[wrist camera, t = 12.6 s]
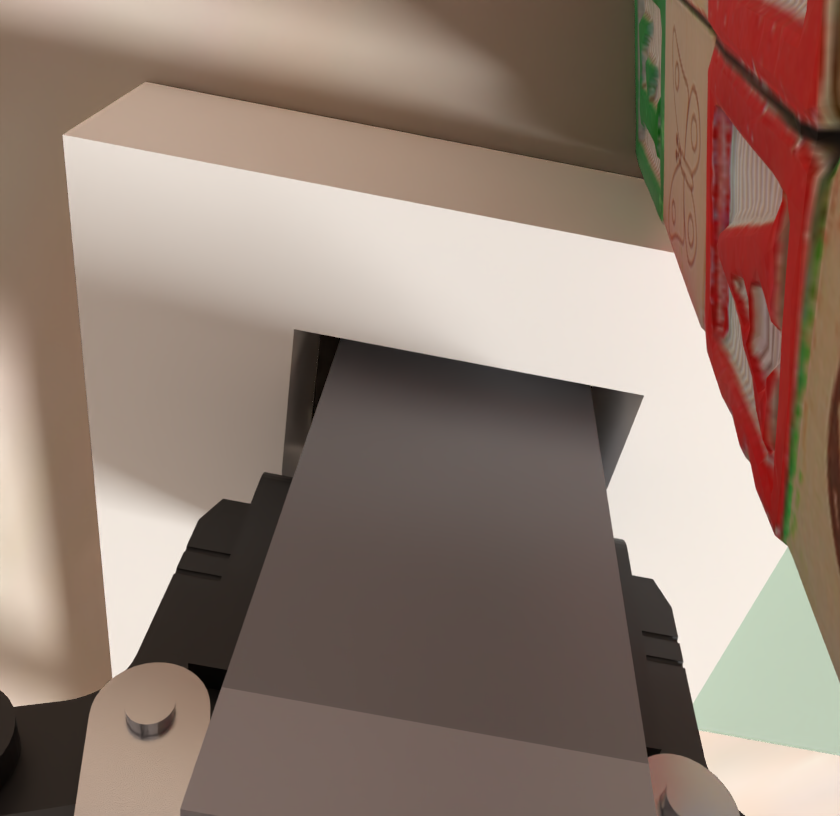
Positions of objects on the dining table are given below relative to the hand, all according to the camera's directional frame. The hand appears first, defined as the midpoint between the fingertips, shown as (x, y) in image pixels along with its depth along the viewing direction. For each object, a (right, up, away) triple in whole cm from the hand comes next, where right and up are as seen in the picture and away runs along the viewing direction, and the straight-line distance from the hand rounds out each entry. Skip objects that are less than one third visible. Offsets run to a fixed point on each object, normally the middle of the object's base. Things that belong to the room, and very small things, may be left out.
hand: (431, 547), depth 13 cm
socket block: (-1, -2, +7) cm, 7 cm away
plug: (0, +2, +4) cm, 4 cm away
